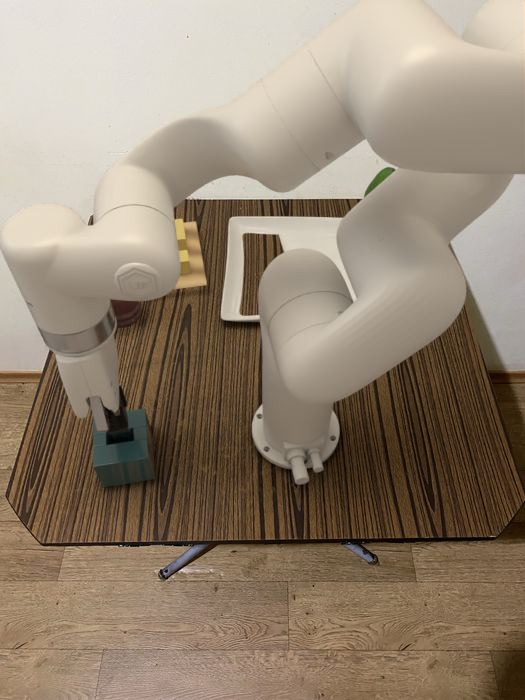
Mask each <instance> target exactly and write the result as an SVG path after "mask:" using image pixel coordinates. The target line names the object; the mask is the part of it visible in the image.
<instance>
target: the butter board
mask: <svg viewBox="0 0 525 700" xmlns="http://www.w3.org/2000/svg"><path fill="white" fill-rule="evenodd" d="M183 224H184V230H185V237H186V244H187V250H188V257H189V264H190V271H191V273H190V274H182V275H180V277H179V280H178V282H177V284H176V286H175V287H174V288H173V290H179V289H188V288H195V287H202V286H207V285H208V283H207V275H206V270H205V265H204V259H203V254H202V248H201V243H200V237H199V231H198V226H197V221H188V222H187V221H185V222H183Z"/></svg>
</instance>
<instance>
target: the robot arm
mask: <svg viewBox="0 0 525 700" xmlns="http://www.w3.org/2000/svg"><path fill="white" fill-rule="evenodd" d="M365 140H366V142H367V143H368V145H369V146H370V148H371V150H372V151H373V152H374V154H376V155H377V157H379V158H380V159H381V160H383V161H384V162H385V163H388V164H389V165H392V166H394V167H396V168H395V169H396V170H395V171H394V172H393V173H392V174H391V175H390V176H388V177H387V178H386V179H385V180H384V181H383V182H382V183H380V184H379V185H378V186H377V187H376V188H375V189H374V190H372V191H371V192H370V193H369V194H368V195H367V196H366V197H364V196H363V198H362V199H360V201H359V202H358V203H356V204H355V205H354V206H353V207H352V208H351V209H350V210H349V211H348V212H347V213H346V214H345V215H344V216H343V217H342V218H343V219H342V221H341V222H340V224H339V226H338V229H337V234H336V240H337V247H338V251H339V254H340V257H341V260H342V263H343V265H344V268H345V271H346V273H347V276H348V278H349V281H350V283H351V286H352V288H353V291H354V293H355V296H356V298H357V299H356V301H355V302H353V299H352V297H351V294H350V292H349V289H348V287H347V284H346V282H345V280H344V278H343V276H342V274H341V272H340V270H339V269H338V267H337V266H336V265H335V263H334V262H333V261H332V260H331V259H330V258H329V257H327V256H326V255H324V254H323V253H321V252H319V251H316V250H313V249H308V248H299V249H292V250H289V251H286V252H284V251H283V253H280V254H279V255H277V256H276V257H275V258H274V259H273V260H272V261H270V263H269V264H268V265H267V266H266V268H265V270H264V271H263V273H262V276H261V279H260V281H259V284H258V289H257V303H258V315H259V317H260V322H259V325H260V335H261V356H262V357H261V360H262V364H261V384H262V387H261V391H262V392H261V393H262V394H261V395H262V396H261V397H262V398H261V400H262V402H261V405H260V406H259V407H258V408H257V410H256V411H255V413H254V415H253V417H252V422H251V437H252V440H253V443H254V446H255V447H256V449H257V451H258V452H259V453H260V455H261V456H262V457H263V458H264V459H265V460H267V461H268V462H269V463H271V464H273V465H275V466H277V467H279V468H282V469H286V470H291V471H292V476H293V480H294V484H296V485H305V484H307V483H308V482H309V481H310V477H309V473H308V470H307V469H312V470H313V472H314V473H321V472H323V471H324V466H323V463H324V462H326V461H327V460H328V459H329V458H330V457H331V456H332V454H334V451H335V450H336V448H337V446H338V443H339V438H340V431H341V428H340V422H339V418H338V417H337V414H336V413H335V411H334V409H333V408H334V403H337V402H339V401H342V400H343V399H346V398H348V397H350V396H352V395H353V394H355V393H357V392H360V391H361V390H362V389H364V388H365V387H366V386H368V385H370V384H371V383H373V382H374V381H375V380H378V378H380V377H381V376H383V375H384V374H386V373H387V372H390V370H392V369H393V368H395V367H397V366H398V365H400V364H401V363H402V362H404V361H405V360H407V359H408V358H410V357H411V356H413V355H415V353H417V352H418V351H420V350H421V349H423V348H425V347H426V346H429V344H430V343H432V342H433V341H434V340H436V339H437V338H438V337H440V336H441V335H442V334H444V333H445V332H446V331H447V330H448V329H449V328H450V327H451V326H452V325H453V323H454V322H455V321H456V319H457V318H458V317H459V315H460V313H461V311H462V309H463V307H464V305H465V302H466V298H467V282H466V278H465V276H464V275H465V274H464V273H463V269H462V268H461V266H460V264H459V262H458V260H457V259H456V257H455V255H454V254H453V252H452V250H451V248H450V247H449V246H450V243H451V242H452V241H453V240H454V239H455V238H456V237H457V236H458V235H460V234H461V232H463V231H464V230H465V229H467V228H468V227H469V226H470V225H471V224H473V222H475V221H476V220H477V219H478V218H479V217H481V216H482V215H483V214H484V213H485V212H487V211H488V210H489V209H490V208H491V207H492V206H494V204H495V203H496V202H497V201H498V200H499V199H500V198H501V196H502V195H503V194H504V193H505V191H506V190H507V188H509V185H510V184H511V183H512V180H513V178H514V176H515V175H525V0H487V1H485V2H484V3H483V4H482V5H481V6H480V7H479V8H478V9H477V10H476V11H475V13H474V14H472V16H471V18H470V19H469V21H468V23H466V26H465V27H464V29H463V32H462V34H461V36H460V35H459V34H458V33H457V32H456V31H455V30H454V29H453V28H452V27H451V25H449V24H448V22H447V21H446V20H445V19H444V18H443V17H442V16H441V15H440V14H439V13H438V12H437V11H436V10H435V9H434V8H433V7H432V6H430V5H429V3H427V2H426V1H425V0H358V1H356V2H355V3H354V4H352V5H351V6H350V7H348V8H347V9H346V10H345V11H344V12H341V14H339V15H338V16H337V17H336V18H335V19H333V20H332V21H331V22H329V23H328V24H327V25H326V26H324V27H323V28H322V29H321V30H320V31H318V32H317V33H316V34H315V35H313V36H312V37H311V38H310V39H308V40H307V41H306V42H305V43H303V44H302V45H301V46H300V47H298V48H297V49H296V50H295V51H293V53H291V54H289V56H288V57H286V58H285V59H284V60H282V61H281V62H280V63H279V64H277V65H276V66H275V67H274V68H272V69H271V70H270V71H269V72H267V73H266V74H265V75H264V76H262V77H261V78H259V79H258V80H257V81H256V82H254V83H253V84H252V85H250V87H248V88H247V89H246V90H245V91H243V92H242V93H241V94H240V95H238V96H237V97H236V98H234V99H232V100H231V101H230V102H228V103H226V104H223V105H220V106H215V107H209V108H205V109H202V110H199V111H195V112H194V113H190V114H187V115H182V116H180V117H177V118H175V119H172V120H169V121H167V122H166V123H164V124H161V125H160V126H158V127H157V128H155V129H153V130H152V131H151V132H150V133H148V134H147V135H146V136H144V137H143V138H142V139H141V140H139V141H138V142H137V143H136V144H135V145H134V146H132V147H131V148H130V149H129V150H128V151H126V152H125V153H124V154H122V155H121V156H120V157H119V158H118V159H117V160H116V161H114V163H113V164H112V165H111V166H110V167H109V168H108V169H106V171H105V172H104V174H103V176H102V177H101V178H100V180H99V182H98V183H97V186H96V189H95V192H94V196H93V208H92V209H93V210H92V219H93V220H92V224H91V225H88V224H87V223H86V221H85V219H84V218H83V217H82V215H81V214H80V213H79V212H78V211H77V210H75V209H73V208H72V207H70V206H68V205H65V204H62V203H57V202H40V203H36V204H35V203H34V204H31V205H28V206H25V207H23V208H21V209H19V210H17V211H15V212H14V213H13V214H12V215H10V216H9V217H8V218H7V219H6V220H5V222H3V224H2V226H1V229H0V251H1V254H2V256H3V259H4V261H5V263H6V265H7V267H8V269H9V271H10V274H11V276H12V277H13V280H14V282H15V284H16V286H17V288H18V290H19V292H20V295H21V296H22V298H23V300H24V303H25V305H26V307H27V309H28V311H29V313H30V315H31V317H32V319H33V321H34V323H35V325H36V328H37V329H38V332H39V334H40V336H41V338H42V340H43V343H44V344H45V346H46V347H47V348H48V349H49V350H50V351H51V352H52V353H53V354H54V355H55V360H56V365H57V369H58V373H59V377H60V379H61V382H62V386H63V388H64V390H65V394H66V396H67V398H68V401H69V403H70V407H71V408H72V410H73V413H74V415H75V416H76V417H77V419H81V420H82V419H87V418H88V414H89V411H90V409H91V412H92V413H91V414H92V418H93V417H94V420H95V424H96V428H97V432H106V431H109V432H114V431H118V430H119V429H125V428H127V427H128V422H127V420H126V417H125V414H124V411H123V409H122V407H120V406H119V393H120V395H121V398H122V401H123V404H124V406H125V409H126V408H127V406H128V401H127V398H126V395H125V393H124V390H123V386H122V385H120V374H119V355H118V354H119V353H118V347H117V343H116V339H115V334H116V332H117V320H116V317H115V314H114V310H113V307H112V304H111V301H110V299H113V300H124V301H139V302H148V301H153V300H157V299H160V298H163V297H165V296H167V295H168V294H170V293H171V292H172V291H173V290H174V289H173V288H174V287H175V286H176V284H177V282H178V280H179V277H180V270H181V264H180V255H179V248H178V241H177V234H176V226H175V219H176V218H175V211H174V209H175V208H177V206H178V205H180V204H181V203H182V202H184V201H185V200H186V199H187V198H189V197H190V196H191V195H192V194H194V193H195V192H196V191H198V190H199V189H201V188H203V187H204V186H206V185H208V184H209V183H212V182H213V181H215V180H218V179H221V178H225V177H232V176H233V177H234V176H235V177H236V176H238V177H245V178H249V179H252V180H255V181H256V182H259V183H260V184H261V185H262V186H264V187H265V188H267V189H269V190H270V191H273V192H276V193H279V194H281V193H282V194H285V193H289V192H291V191H294V190H295V189H297V188H298V187H299V186H301V185H302V184H304V183H305V182H306V181H307V180H310V179H311V178H312V177H313V176H315V175H316V174H317V173H319V172H321V171H322V170H323V169H325V168H326V167H328V166H329V165H331V164H332V163H333V162H335V161H336V160H337V159H339V158H340V157H342V156H343V155H345V154H346V153H348V152H349V151H350V150H352V149H354V148H355V147H356V146H357V145H359V144H361V142H363V141H365Z"/></svg>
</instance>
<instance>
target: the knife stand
mask: <svg viewBox="0 0 525 700" xmlns="http://www.w3.org/2000/svg"><path fill="white" fill-rule="evenodd" d="M126 412H127V415H128V426H129V428H130V431H131V434H132V437H133V439H134V441H130V442H123V443H117V444H115V441H114V439H113V436H112V434H109V435H108V433H107V431H106V432H97V428H96V424H95V420H94V417H93V416H92V419H93V420H92V428H93V429H92V468H93V469H94V472H95V474H96V476H97V478H98V480H99V482H100V484H101V486H102V488H103V489H104V488H109V487H111V488H112V487H116V486H122V485H129V484H135V483H141V482H145V481H152V480H153V481H154V480H155V479H156V474H155V473H156V471H155V460H154V446H153V443H154V442H153V432H152V427H151V424H150V421H149V417H148V414H147V410H146V408H145V407H143V408H138V409H137V408H136V409H130V410H126Z"/></svg>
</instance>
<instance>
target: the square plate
mask: <svg viewBox="0 0 525 700" xmlns="http://www.w3.org/2000/svg"><path fill="white" fill-rule="evenodd" d="M343 218H344V217H329V216H327V217H325V216H285V215H284V216H278V215H277V216H276V215H275V216H272V215H271V216H270V215H269V216H268V215H267V216H265V215H263V216H262V215H260V216H259V215H258V216H257V215H256V216H255V215H253V216H250V215H249V216H245V215H244V216H241V215H240V216H232V217H230V218H229V220H228V225H227V226H228V227H227V249H226V251H227V253H226V262H225V271H224V272H225V273H224V280H223V289H222V297H221V304H220V318H221V320H223V321H226V322H237V323H260V317H259V314H255V315H243V314H241V313H240V309H241V304H242V297H243V285H244V269H245V268H244V267H245V255H244V254H245V253H244V252H245V251H244V241H243V236H244V234H262V235H278V237H279V241H280V244H281V247H282V250H283V253H284V252H286V251H289V250H292V249H299V248H308V249H313V250H316V251H319V252H321V253H323V254H324V255H326V256H327V257H329V258H330V259H331V260H332V261H333V262H334V263H335V265H336V266H337V267H338V269H339V270H340V272H341V274H342V276H343V278H344V280H345V282H346V284H347V287H348V289H349V292H350V294H351V297H352V299H353V302H355V301H356V299H357V298H356V296H355V293H354V291H353V288H352V286H351V283H350V281H349V278H348V276H347V273H346V271H345V268H344V265H343V263H342V260H341V257H340V254H339V251H338V247H337V240H336V234H337V229H338V226H339V224H340V222H341V221H342V219H343Z"/></svg>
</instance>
